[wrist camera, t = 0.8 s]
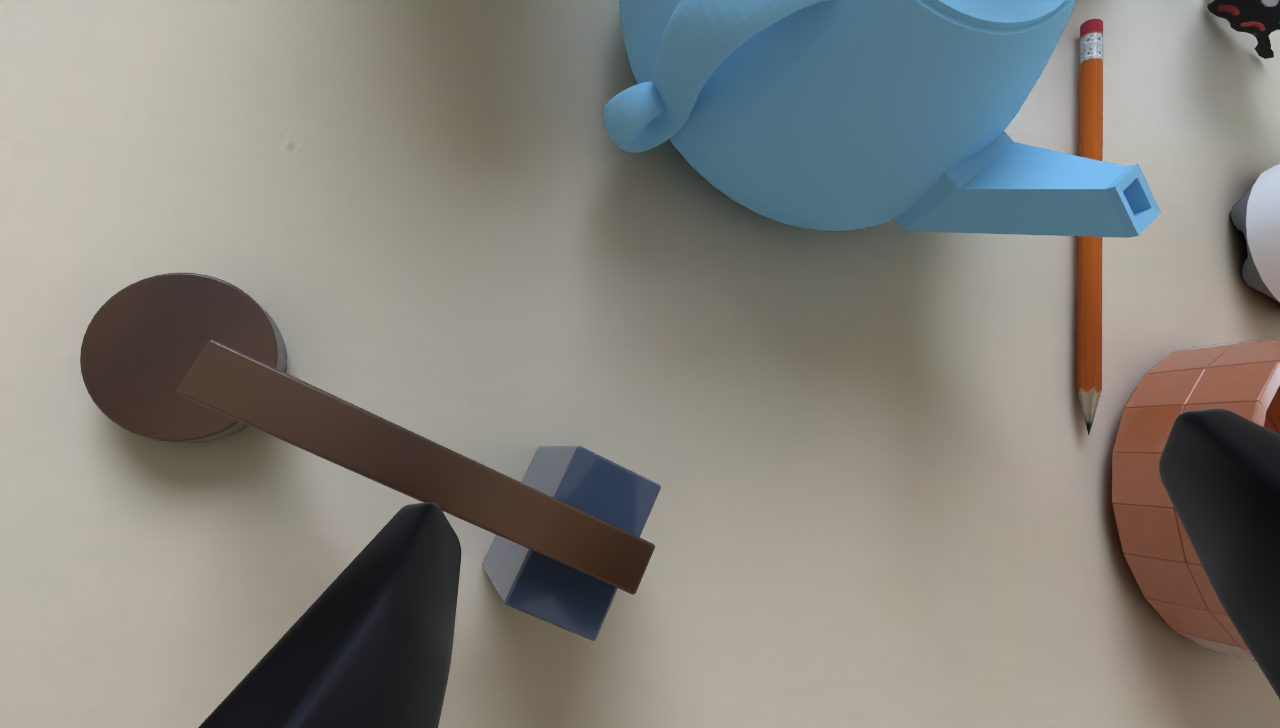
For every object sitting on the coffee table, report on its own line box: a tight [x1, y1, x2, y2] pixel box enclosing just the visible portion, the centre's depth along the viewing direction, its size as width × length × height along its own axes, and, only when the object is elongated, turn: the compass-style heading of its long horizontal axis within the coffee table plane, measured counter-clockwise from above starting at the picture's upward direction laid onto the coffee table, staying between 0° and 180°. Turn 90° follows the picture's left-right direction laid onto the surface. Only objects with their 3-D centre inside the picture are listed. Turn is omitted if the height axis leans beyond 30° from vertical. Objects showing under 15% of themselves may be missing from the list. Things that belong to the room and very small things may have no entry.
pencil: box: [1077, 19, 1103, 434], centre depth 30 cm, size 1×19×1 cm, turn 174°
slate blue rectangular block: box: [482, 446, 661, 641], centre depth 19 cm, size 4×2×5 cm, turn 155°
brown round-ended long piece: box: [80, 273, 655, 594], centre depth 17 cm, size 14×4×7 cm, turn 65°
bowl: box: [1112, 336, 1280, 661], centre depth 28 cm, size 13×13×6 cm
